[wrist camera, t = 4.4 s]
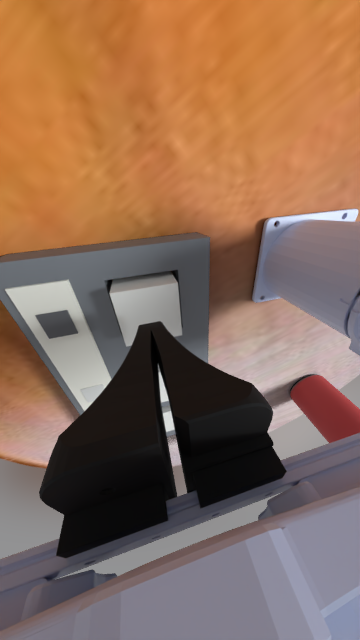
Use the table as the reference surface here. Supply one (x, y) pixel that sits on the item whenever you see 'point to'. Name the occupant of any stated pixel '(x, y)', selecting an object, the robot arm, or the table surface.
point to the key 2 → (168, 418)
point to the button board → (100, 304)
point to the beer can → (326, 408)
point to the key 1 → (146, 303)
